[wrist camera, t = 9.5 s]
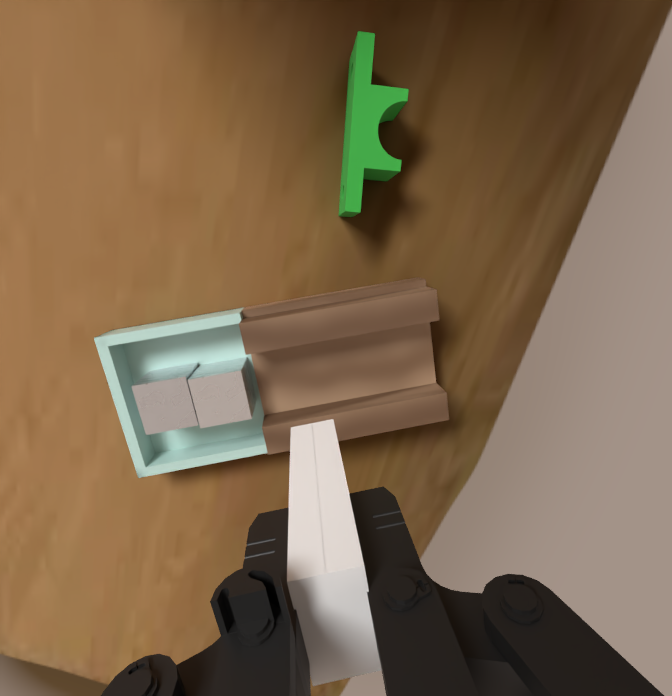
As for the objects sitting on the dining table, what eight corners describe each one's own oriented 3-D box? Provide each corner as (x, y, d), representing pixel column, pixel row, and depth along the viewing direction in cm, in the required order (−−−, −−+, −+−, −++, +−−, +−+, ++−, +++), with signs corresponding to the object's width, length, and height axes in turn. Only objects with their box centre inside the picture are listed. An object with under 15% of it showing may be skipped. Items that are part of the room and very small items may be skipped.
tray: (111, 330, 33) (93, 338, 30) (244, 307, 34) (239, 312, 31) (150, 459, 36) (138, 478, 33) (272, 436, 37) (270, 452, 34)
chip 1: (149, 370, 34) (131, 386, 30) (198, 362, 34) (185, 376, 30) (162, 414, 35) (145, 435, 31) (209, 405, 35) (198, 425, 31)
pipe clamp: (382, 220, 34) (396, 216, 29) (338, 216, 33) (344, 211, 29) (397, 67, 31) (414, 37, 27) (349, 61, 31) (358, 29, 26)
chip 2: (199, 365, 34) (187, 379, 30) (246, 356, 34) (240, 370, 30) (210, 408, 35) (200, 428, 31) (256, 400, 35) (251, 419, 32)
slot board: (244, 307, 34) (236, 315, 30) (418, 277, 35) (435, 281, 30) (272, 436, 37) (269, 461, 33) (432, 406, 38) (449, 426, 33)
